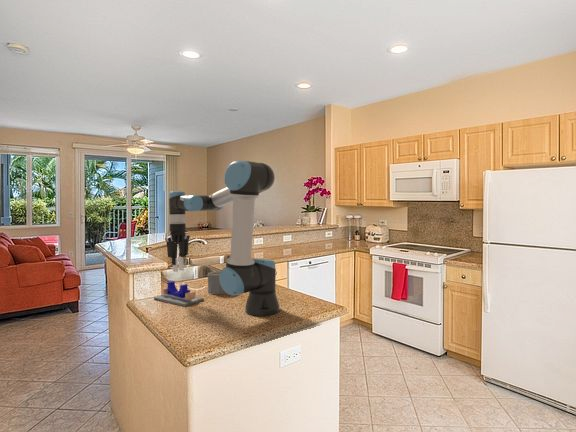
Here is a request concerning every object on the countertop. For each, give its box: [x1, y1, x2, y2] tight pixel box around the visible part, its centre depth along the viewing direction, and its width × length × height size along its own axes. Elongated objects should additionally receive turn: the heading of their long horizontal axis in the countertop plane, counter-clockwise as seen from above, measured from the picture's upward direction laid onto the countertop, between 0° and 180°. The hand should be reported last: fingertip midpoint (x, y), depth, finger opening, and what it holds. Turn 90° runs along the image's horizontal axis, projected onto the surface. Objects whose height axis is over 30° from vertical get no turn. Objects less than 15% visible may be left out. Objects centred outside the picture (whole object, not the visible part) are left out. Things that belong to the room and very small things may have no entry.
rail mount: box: [153, 287, 205, 308], centre depth 173 cm, size 22×12×5 cm, turn 58°
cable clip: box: [167, 280, 191, 298], centre depth 174 cm, size 12×4×6 cm, turn 52°
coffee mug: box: [207, 271, 227, 295], centre depth 191 cm, size 13×10×10 cm
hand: (178, 270), depth 173 cm, fingers open, 3 cm apart
